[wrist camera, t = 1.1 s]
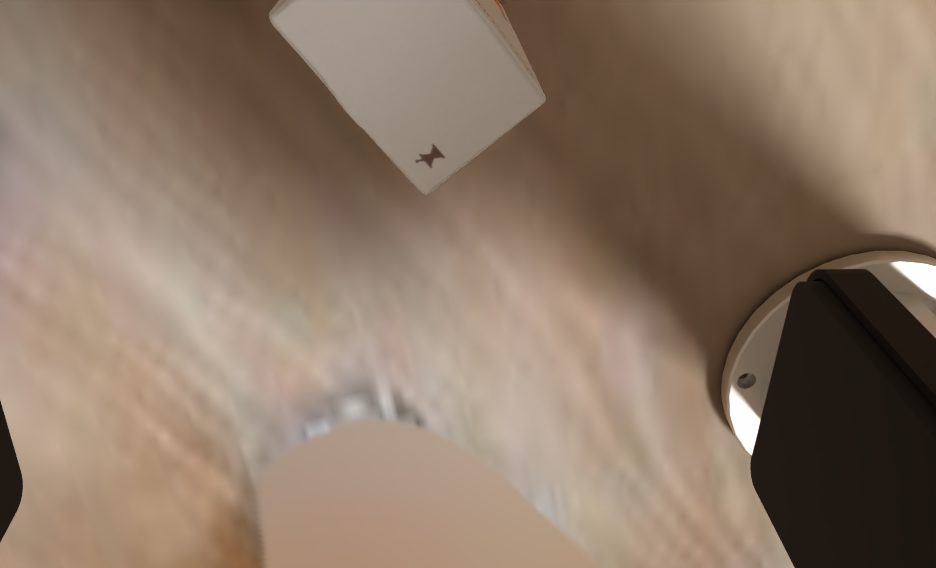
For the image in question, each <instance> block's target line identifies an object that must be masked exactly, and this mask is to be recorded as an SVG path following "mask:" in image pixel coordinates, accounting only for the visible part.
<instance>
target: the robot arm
mask: <svg viewBox="0 0 936 568" xmlns="http://www.w3.org/2000/svg"><path fill="white" fill-rule="evenodd" d="M721 397H722V403H723V408H724V413H725V416H726V418H727V420H728V423H729V425H730V427H731V429H732V431H733V433H734V435H735V437H736V438H737V440H738V441H739V443H740V445H741V446H742V448H743V449H744V450H745V451H746V452H747V453H748V454H749V455H750V456H751V478H752V482H753V485H754V488H755V490H756V492H757V494H758V496H759V498H760V500H761V502H762V504H763V506H764V508H765V510H766V512H767V514H768V516H769V518H770V520H771V522H772V524H773V526H774V528H775V530H776V532H777V534H778V536H779V538H780V540H781V541H782V543H783V545H784V547H785V549H786V551H787V553H788V555H789V557H790V559H791V561H792V563H793V565H794V567H795V568H936V259H934V258H932V257H930V256H927V255H922V254H917V253H912V252H907V251H872V252H866V253H860V254H854V255H849V256H846V257H843V258H840V259H837V260H833V261H830V262H827V263H824V264H822V265H820V266H818V267H816V268H814V269H812V270H810V271H808V272H806V273H804V274H802V275H800V276H798V277H796V278H795V279H793V280H792V281H791V282H789V283H788V284H786V285H785V286H783V287H782V288H781V289H779V290H778V291H776V292H775V293H774V294H773V295H772V296H771V297H769V298H768V299H767V300H766V301H765V302H764V303H763V304H762V305H761V306H760V307H759V308H758V309H757V310H756V311H755V312H754V313H753V314H752V316H751V317H750V318H749V320H748V321H747V322H746V324H745V325H744V326H743V328H742V329H741V330H740V332H739V333H738V335H737V337H736V339H735V341H734V343H733V345H732V347H731V349H730V351H729V353H728V356H727V360H726V363H725V367H724V371H723V374H722V390H721ZM22 490H23V480H22V474H21V470H20V467H19V464H18V460H17V457H16V453H15V450H14V446H13V443H12V439H11V436H10V433H9V429H8V426H7V422H6V419H5V415H4V412H3V408H2V405H1V401H0V542H1V540H2V538H3V536H4V534H5V532H6V530H7V529H8V527H9V525H10V523H11V521H12V519H13V517H14V515H15V513H16V512H17V510H18V507H19V505H20V501H21V497H22Z"/></svg>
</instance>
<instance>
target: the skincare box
mask: <svg viewBox="0 0 936 568" xmlns="http://www.w3.org/2000/svg"><path fill="white" fill-rule="evenodd" d="M269 20H270V21H271V23H272V25H273V26H274V27H275V28H276V30H277V31H278V32H279V33H280V34H281V35H282V36H283V38H284V39H285V40H286V41H287V42H288V43H289V44H290V45H291V47H292V48H293V49H294V50H295V51H296V52H297V53H298V54H299V56H300V57H301V58H302V59H303V60H304V61H305V62H306V64H307V65H308V66H309V67H310V68H311V69H312V70H313V72H314V73H315V74H316V75H317V76H318V77H319V78H320V80H321V81H322V82H323V83H324V84H325V85H326V87H327V88H328V89H329V90H330V92H331V93H332V94H333V95H334V97H335V98H336V100H337V101H338V102H339V104H340V105H341V106H342V108H343V109H344V110H345V111H346V112H347V114H348V115H349V116H350V117H351V118H352V119H353V120H354V121H355V123H357V124H358V125H359V126H360V127H361V128H362V129H363V130H364V131H365V132H366V133H367V134H368V135H369V136H370V137H371V138H372V139H373V141H374V142H375V143H376V144H377V145H378V146H379V147H380V148H381V150H382V151H383V152H384V153H385V154H386V155H387V156H388V157H389V158H390V160H391V161H392V162H393V163H394V164H395V165H396V166H397V167H398V168H399V169H400V171H401V172H402V173H403V174H404V175H405V176H406V177H407V178H408V179H409V180H410V182H411V183H412V184H413V185H414V186H415V187H416V188H417V189H418V190H419V191H420V192H421V194H423V195H429V194H430V193H432V192H433V191H434V190H435V189H436V188H438V187H439V186H440V185H441V184H443V183H444V182H445V181H446V180H448V179H449V178H450V177H451V176H453V175H454V174H455V173H456V172H458V171H459V170H460V169H461V168H463V167H464V166H465V165H466V164H468V163H469V162H470V161H471V160H473V159H474V158H475V157H476V156H478V155H479V154H480V153H481V152H483V151H484V150H485V149H486V148H488V147H489V146H490V145H492V144H493V143H494V142H495V141H497V140H498V139H499V138H500V137H502V136H503V135H504V134H505V133H507V132H508V131H509V130H511V129H512V128H513V127H514V126H516V125H517V124H518V123H519V122H521V121H522V120H523V119H525V118H526V117H527V116H528V115H530V114H531V113H532V112H534V111H535V110H536V109H537V108H539V107H540V106H541V105H542V104H544V103H545V101H546V96H545V94H544V92H543V90H542V88H541V86H540V84H539V82H538V79H537V77H536V75H535V73H534V71H533V69H532V67H531V65H530V63H529V61H528V59H527V57H526V54H525V52H524V50H523V48H522V46H521V44H520V42H519V39H518V37H517V36H516V33H515V32H514V30H513V28H512V26H511V23H510V21H509V19H508V17H507V15H506V13H505V10H504V8H503V6H502V5H501V4H500V2H499V1H498V0H279V1H278V2H277V4H276V5H275V6H274V7H273V8H272V10H271V11H270V12H269Z"/></svg>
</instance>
